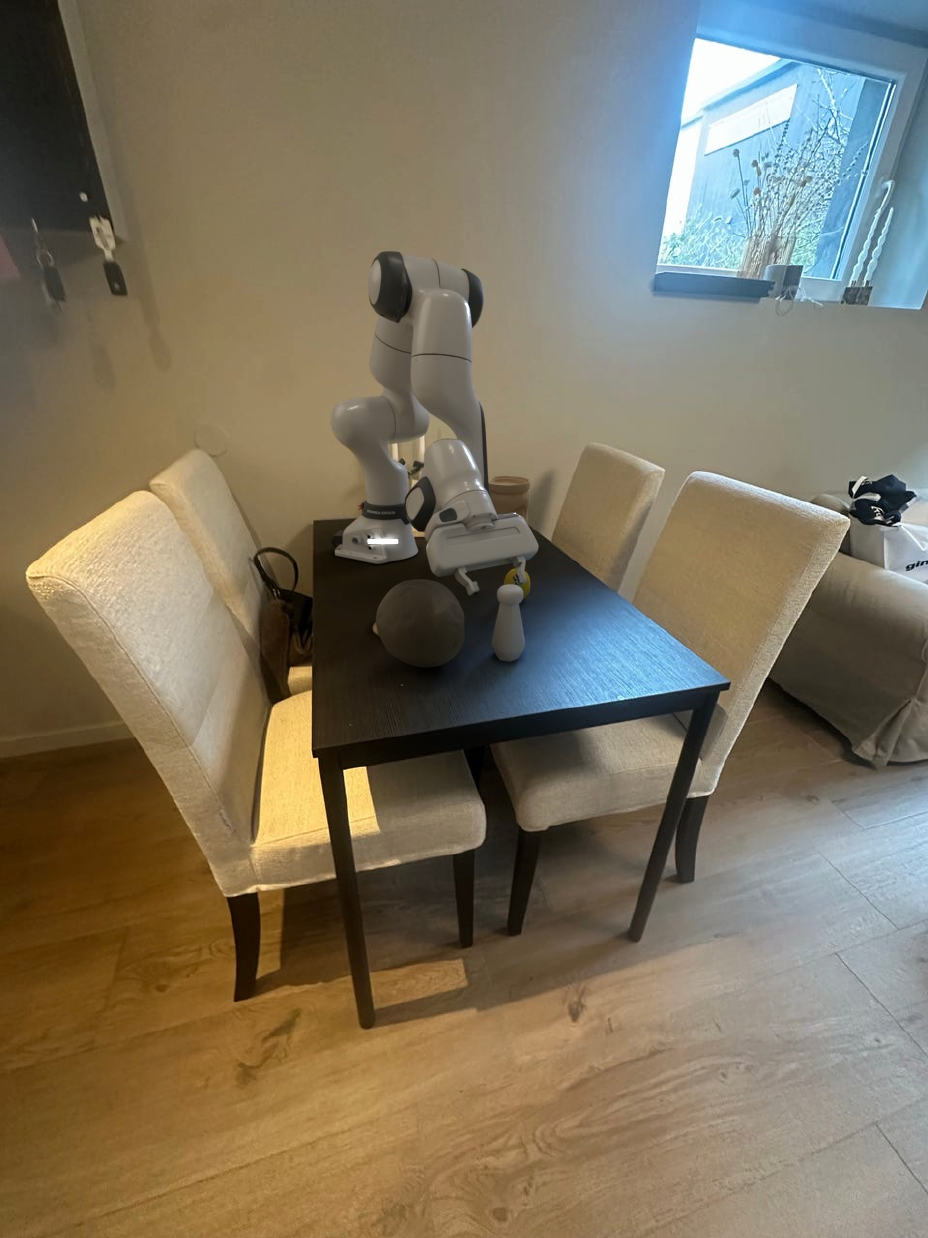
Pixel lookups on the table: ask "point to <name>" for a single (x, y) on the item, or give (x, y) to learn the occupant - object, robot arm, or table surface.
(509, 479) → the container
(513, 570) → the lemon
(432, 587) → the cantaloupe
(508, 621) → the salt shaker
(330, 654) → the table surface
